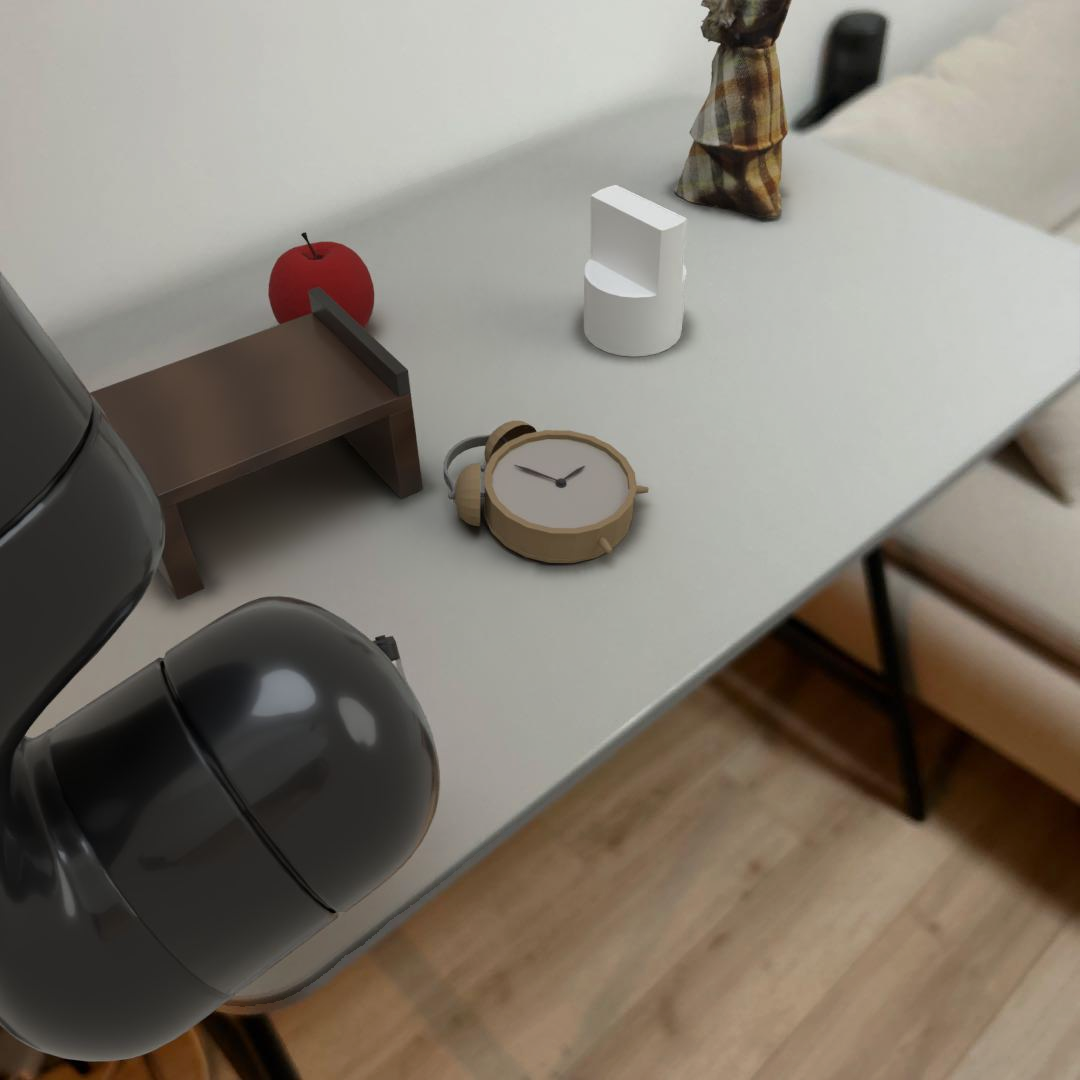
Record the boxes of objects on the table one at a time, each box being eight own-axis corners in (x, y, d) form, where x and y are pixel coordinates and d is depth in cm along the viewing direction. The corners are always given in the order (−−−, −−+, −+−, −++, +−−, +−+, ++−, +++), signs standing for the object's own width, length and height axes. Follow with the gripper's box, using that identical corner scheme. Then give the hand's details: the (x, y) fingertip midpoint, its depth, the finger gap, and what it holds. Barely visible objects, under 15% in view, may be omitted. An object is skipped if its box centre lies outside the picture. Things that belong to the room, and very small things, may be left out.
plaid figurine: (653, 215, 113) (728, -44, 97) (643, 161, 123) (709, -81, 107) (780, 240, 115) (875, -10, 99) (760, 185, 125) (843, -50, 109)
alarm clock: (604, 556, 74) (413, 470, 77) (592, 601, 78) (410, 517, 81) (662, 460, 81) (486, 384, 84) (648, 505, 85) (480, 431, 88)
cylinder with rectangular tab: (563, 327, 100) (562, 205, 92) (633, 292, 104) (638, 173, 96) (631, 368, 95) (637, 244, 87) (702, 330, 99) (714, 208, 91)
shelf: (177, 600, 76) (132, 478, 68) (111, 493, 84) (64, 375, 77) (423, 489, 84) (408, 369, 76) (340, 402, 93) (319, 286, 85)
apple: (287, 371, 96) (265, 270, 89) (271, 319, 102) (249, 220, 95) (389, 350, 98) (375, 250, 91) (367, 300, 104) (353, 203, 97)
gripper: (401, 581, 42) (371, 586, 57) (10, 685, 38) (93, 660, 54) (451, 770, 42) (408, 723, 57) (65, 890, 38) (132, 805, 54)
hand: (255, 692), depth 56 cm, fingers open, 8 cm apart
